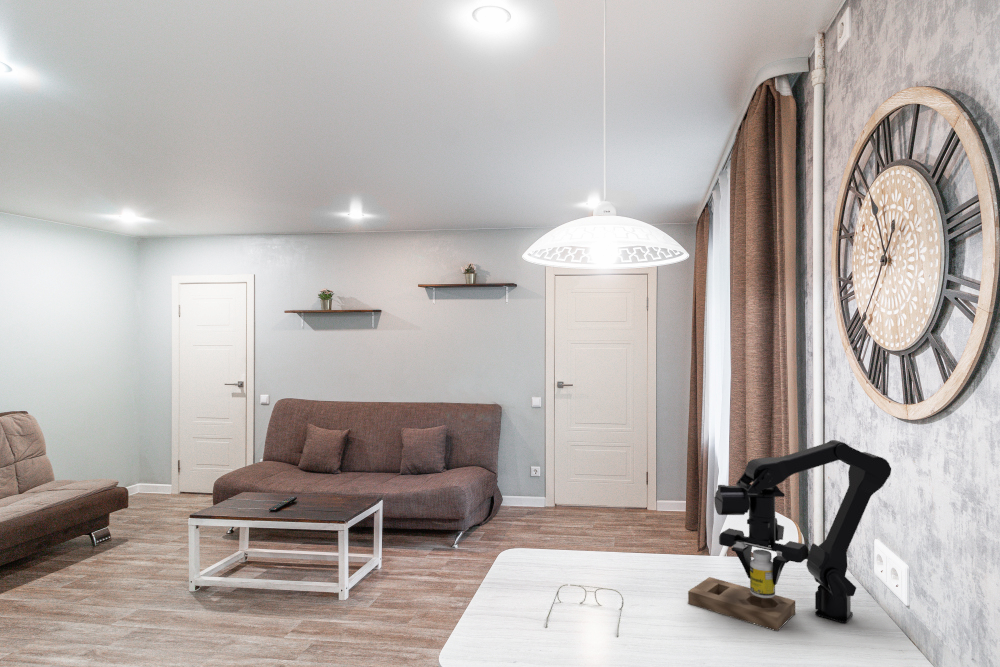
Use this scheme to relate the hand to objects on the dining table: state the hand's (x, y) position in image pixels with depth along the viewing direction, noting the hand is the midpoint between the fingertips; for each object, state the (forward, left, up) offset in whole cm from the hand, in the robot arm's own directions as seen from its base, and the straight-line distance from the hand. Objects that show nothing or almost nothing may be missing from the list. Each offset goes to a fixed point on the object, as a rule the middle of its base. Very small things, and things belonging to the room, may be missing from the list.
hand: (762, 581), depth 145 cm
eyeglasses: (+30, +29, -9) cm, 42 cm away
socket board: (+5, 0, -8) cm, 9 cm away
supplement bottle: (0, 0, -3) cm, 3 cm away
